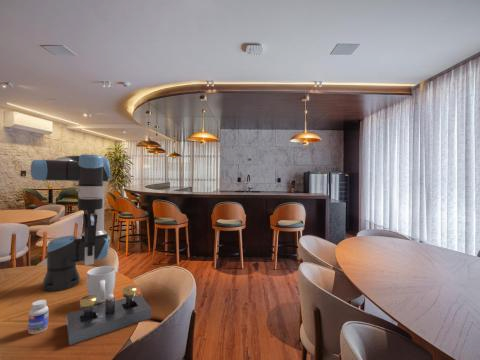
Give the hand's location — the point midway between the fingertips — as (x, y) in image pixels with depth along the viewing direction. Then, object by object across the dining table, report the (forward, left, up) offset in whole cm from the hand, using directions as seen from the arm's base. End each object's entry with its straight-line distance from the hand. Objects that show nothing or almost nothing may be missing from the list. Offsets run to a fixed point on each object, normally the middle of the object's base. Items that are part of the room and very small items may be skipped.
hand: (89, 263), depth 88 cm
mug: (-19, +7, -23) cm, 31 cm away
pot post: (0, +7, -19) cm, 20 cm away
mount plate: (0, +7, -23) cm, 24 cm away
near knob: (0, 0, -19) cm, 19 cm away
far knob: (0, +14, -19) cm, 24 cm away
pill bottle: (-9, -14, -23) cm, 29 cm away
